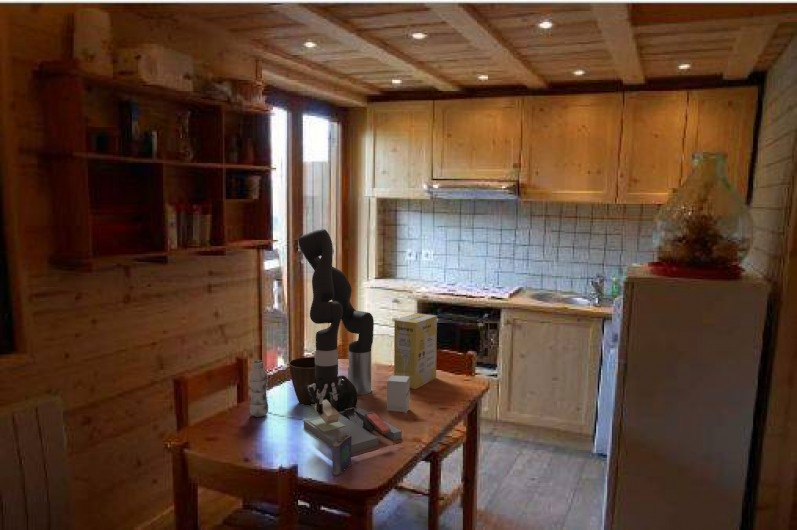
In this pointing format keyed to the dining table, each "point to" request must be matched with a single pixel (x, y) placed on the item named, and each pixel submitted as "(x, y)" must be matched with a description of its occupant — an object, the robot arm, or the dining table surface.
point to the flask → (341, 453)
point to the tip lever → (367, 420)
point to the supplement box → (398, 393)
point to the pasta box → (415, 348)
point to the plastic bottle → (258, 390)
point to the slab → (329, 413)
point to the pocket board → (348, 431)
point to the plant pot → (303, 378)
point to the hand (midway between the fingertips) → (326, 412)
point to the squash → (344, 396)
